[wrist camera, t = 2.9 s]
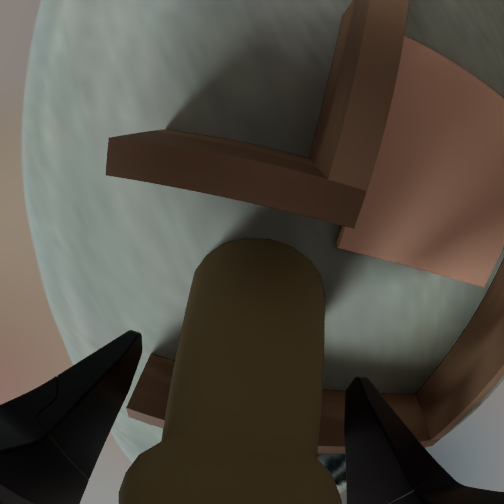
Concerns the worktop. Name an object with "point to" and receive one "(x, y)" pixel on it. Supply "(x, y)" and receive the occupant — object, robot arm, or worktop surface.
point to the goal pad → (436, 173)
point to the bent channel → (323, 214)
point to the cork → (243, 387)
